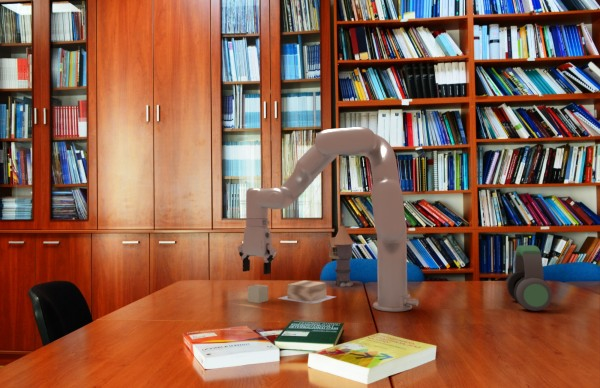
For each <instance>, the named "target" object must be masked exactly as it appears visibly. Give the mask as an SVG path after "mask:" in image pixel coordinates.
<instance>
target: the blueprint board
mask: <svg viewBox="0 0 600 388" xmlns="http://www.w3.org/2000/svg"><path fill="white" fill-rule="evenodd" d="M333 298H334V299H335V298H336V296H334V295H333V296H332V295H327V294H326V297H324V298H321V299H318V300H314V301H311V302H309V301H302V300H295V299H288V296H287V295H285V296H282V297H278V298H277V299H279V300H283V301H284V300H285V301H291V302H300V303H306V304H318V303H322V302H325V301H328V300H331V299H333Z"/></svg>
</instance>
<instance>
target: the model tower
mask: <svg viewBox="0 0 600 388" xmlns="http://www.w3.org/2000/svg"><path fill="white" fill-rule="evenodd" d="M343 218H345V214H344V213H341V223H340V224H339V228H338V231H337V234H336V235H335V236H334V237H329V238H328V243H327V246H326V247H328V253H329V255H328V256H329V259H332V260H336V267H335V269H334V272H335V273H336V279H335V282H334V283H335V286H337V287H341V288H343V287H352V286H354V283H353V282H352V281H351V279H350V273H351V272H352V270H351V269H350V268H351V265H350V264H351V260H352V257H353V245H355V243H354V241H353V240H352V238H351V236H350V234H349V232H348V230H347V228H346V226H345V224H344V222H343Z"/></svg>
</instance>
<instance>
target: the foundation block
mask: <svg viewBox="0 0 600 388" xmlns="http://www.w3.org/2000/svg"><path fill="white" fill-rule="evenodd" d="M286 288H287V295H286V296H288V299H295V300H302V301H309V302H311V301H314V300H318V299H321V298H324V297H326V295H327V282H323V281H322V282H321V281H314V280H313V281H312V280H306V279H305V280H304V279H303V280H300V281H295V282H292V283H287V287H286Z"/></svg>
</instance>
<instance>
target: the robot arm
mask: <svg viewBox="0 0 600 388" xmlns="http://www.w3.org/2000/svg"><path fill="white" fill-rule="evenodd" d="M340 155H341V156H342V155H359V156H364V157H367V158H368V159H369V162H370V171H371V175H372V187H371V194H370V196H371V204H372V205H371V206H372V213H373V220H374V221H373V222H374V229H375V233H376V237H377V239H376V241H377V244H376V245H377V246H376V248H377V249H376V252H377V254H376V255H377V257H376V258H377V260H376V261H377V262H376V263H377V268H376V269H377V301H375V302H373V304H372V307H373V308H374V309H375V310H378V311H383V312H392V313H394V312H397V313H398V312H407V311H410V310H412V309H413V306H415V307H418V306H419V304H420V303H419V299H417V298H412V297H411V294H410V293H408V274H407V273H408V272H407V270H408V267H407V266H408V265H407V264H408V261H407V259H408V258H407V257H408V256H407V254H408V252H407V251H408V250H407V246H408V245H407V244H408V243H407V240H408V238H407V233H408V232H407V231H408V230H407V221H406V215H405V207H404V199H403V191H402V188H401V187H402V186H401V183H400V177H399V171H398V166H397V158H396V154H395V152H394V149H393V147H392V145H391V144H390V143H389V142H388V141H387V140H386V139H385V138H383V137H382V136H380V135H378V134H376V133H374V131H373V130H372V129H370V128H368V127H365V126H358V127H357V126H356V127H342V128H329V129H324V130H321V131H320V132H318V133H317V134H316V136H315V139H314V144H312V146H311V147H309V148H308V150H306V152H305V153H304V154H303V155H301V157H299V158H298V160H297V161H296V164H295V166H294V170H293V172H292V173H291V175H289V177H288V178H287V180H285V182H283V184H281V186H280V187H279V186H278V187H270V188H264V187H251V188H248V189H247V190H246V193H245V197H246V199H245V201H246V204H245V208H246V210H245V224H246V225H245V227H244V231H243V236H242V237H243V240H242V244H240V245H239V246H238V245H237V251H238V255H239V257H240V259H241V261H242V272H250V271H251V260H250V258H251V257H261V258H262V259H263V261H264V262H263V275H270V274H271V273H272V262H273V260H274V259H275V258H276V254H277V252H278V250H277V249H276V248H275V247H273V245H272V244H273V241H272V234H271V233H272V232H271V229H270V227H269V225H270V220H268V219H269V218H268V217H269V209H270V210H282V209H287V208H289V207H290V206H291V205H292V204H293V203H294V202H296V200H297V199H298V198H300V197H301V195H303V194H304V192H305V191H306V190H307V189H308V188H309V186H310V185H312V184H313V182H314V181H315V180H316V178H318V176H319V175H320V174H321V173H322V172H323V171H324V170H325V169H326V168H327V167H328V166H329V165H330V164H331V163H332V162H333V161H334V160H335V159H336V158H337V157H338V156H340Z"/></svg>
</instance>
